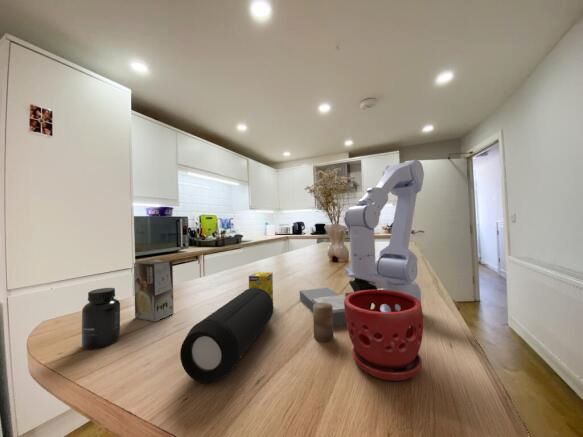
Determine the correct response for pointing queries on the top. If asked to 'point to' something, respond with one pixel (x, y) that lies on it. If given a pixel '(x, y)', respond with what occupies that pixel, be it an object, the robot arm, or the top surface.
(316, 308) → the walnut peg
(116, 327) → the supplement bottle
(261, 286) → the supplement box
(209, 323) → the portable speaker
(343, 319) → the socket plate
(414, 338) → the plant pot
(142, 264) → the coffee box
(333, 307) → the sliding lid
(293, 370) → the top surface
